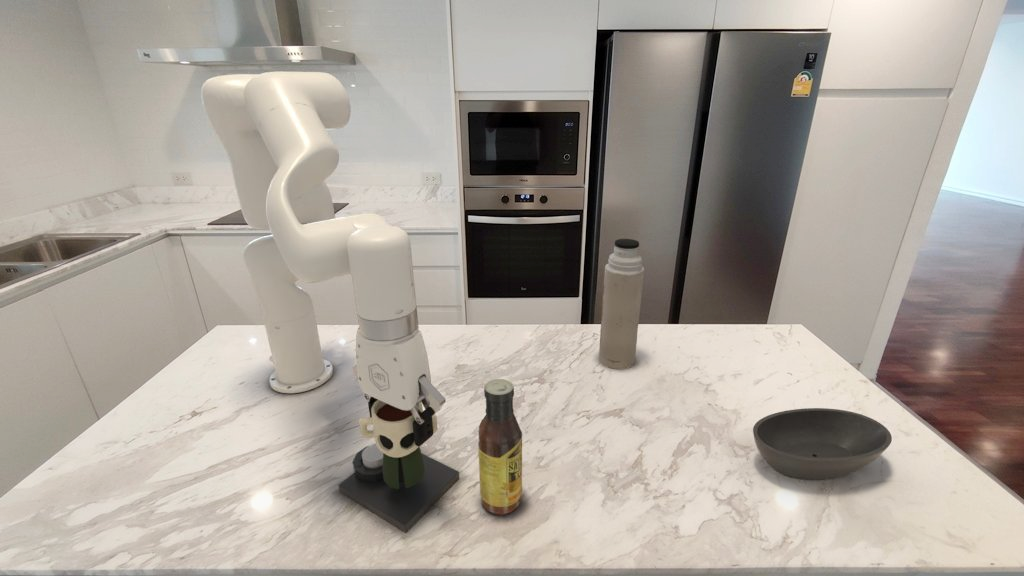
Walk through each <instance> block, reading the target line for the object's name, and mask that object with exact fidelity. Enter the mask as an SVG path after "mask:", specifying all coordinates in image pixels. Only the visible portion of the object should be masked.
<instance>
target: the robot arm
mask: <svg viewBox="0 0 1024 576" xmlns="http://www.w3.org/2000/svg"><path fill="white" fill-rule="evenodd" d="M200 93H201V103H202V108H203V110H204V114H205V116H206V119H207V120H208V122H209V125H210V126H211V128H212V130H213V132H214V133H215V135H216V136H217V138H218V140H219V141H220V143H221V145H222V146H223V148H224V151H225V153H226V154H227V157H228V160H229V165H230V169H231V174H232V177H233V183H234V186H235V187H234V188H235V191H236V195H237V199H238V202H239V207H240V210H241V214H242V216H243V219H244V221H245V222H246V224H247V225H248V226H249V227H250V228H251V229H253V230H257V231H269V230H270V233H271V234H270V235H265V236H261V237H259V238H255V239H253V240H252V241H250V242H248V244H247V245H246V246H245V247H244V249H243V252H242V257H243V262H244V263H243V264H244V266H245V269H246V271H247V274H248V276H249V278H250V281H251V282H252V285H253V288H254V290H255V294H256V296H257V300H258V303H259V307H260V312H261V315H262V320H263V323H264V324H263V325H264V328H265V333H266V336H267V341H268V345H269V349H270V353H271V354H270V356H269V359H268V361H270V362H272V363H273V366H274V370H273V372H272V373H271V374H270V376H269V380H268V382H269V385H270V388H271V389H272V390H274V391H276V392H278V393H282V394H298V393H304V392H308V391H311V390H313V389H317V388H318V387H320V386H323V384H325V383H326V382H328V381H329V379H331V378H332V376H333V373H334V368H333V367H334V366H333V364H332V363H331V361H329V360H328V359H325V358H324V355H323V351H322V346H321V341H320V334H319V329H318V323H317V319H316V313H315V308H314V303H313V299H312V297H311V296H310V294H309V293H308V292H307V291H306V290H305V289H304V288H302V287H300V286H298V285H297V284H296V282H297V281H301V282H304V283H307V284H315V283H322V282H324V281H329V280H333V279H337V278H339V277H343V276H344V277H345V276H348V275H351V282H352V290H353V295H354V297H353V298H354V302H355V309H356V315H357V316H356V317H357V321H358V322H357V323H358V328H357V330H356V337H355V363H356V364H354V365H353V366H352V367H351V369H352V371H353V373H354V375H355V376H356V379H357V381H358V386H359V389H360V390H361V391H362V392H363V397H364V399H365V400H366V401H367V405H368V412H369V413H368V414H369V417H372V413H371V408H372V406H373V404H374V403H375V402H376V401H377V400H380V401H382V402H385V403H387V404H389V405H391V406H394V407H396V408H399V409H401V410H410V411H411V413H412V415H413V416H414V418H415V421H414V422H413V432H414V441H415V445H417V446H419V447H421V446H422V445H423V444H424V443H426V442H427V441H429V439H430V438H432V437H433V436H434V433H433V422H432V416H433V415H434V414H435V415H436V414H437V413H438V412H439V411H441V409H442V408H443V406H444V404H446V402H447V401H446V397H444V395H443V394H442V393H441V392H440V391H439V390H438V389H437V388H436V387H435V386H434V385H433V383H432V376H431V369H430V363H429V358H428V357H429V356H428V352H427V348H426V344H425V340H424V337H423V334H422V331H421V330H420V328H419V318H418V307H417V298H416V297H417V295H416V286H415V275H414V265H413V257H412V255H413V254H412V245H411V244H412V243H411V239H410V236H409V234H408V233H407V231H406V230H405V229H403V228H401V227H400V226H399V227H398V226H394V225H391V224H390V222H388V220H387V219H385V218H384V217H383V216H381V215H380V214H377V213H373V212H372V213H370V212H369V213H368V212H367V213H359V214H354V215H349V216H342V217H336V215H335V207H334V201H333V199H332V194H331V191H330V189H329V187H328V184H327V183H326V181H325V180H327V179H328V178H329V177H330V176H331V175H333V174H334V172H335V171H336V169H337V168H338V165H339V161H340V155H339V154H340V153H339V151H338V148H337V146H336V144H335V143H334V141H333V139H332V137H331V135H330V134H329V133H328V131H329V130H330V131H331V130H340V129H342V128H345V126H347V124H348V123H349V121H350V118H351V102H350V101H351V100H350V98H349V95H348V93H347V91H346V89H345V87H344V85H343V84H342V83H341V81H340V80H339V79H338V78H337V77H335V76H334V75H333V74H331V73H328V72H322V71H267V72H262V73H259V74H258V73H257V74H256V73H238V74H223V75H217V76H214V77H211V78H208V79H206V80H205V81H204V83H203V84H202V87H201V92H200ZM419 402H421V403H422V407H423V409H424V410H423V412H420V410H419V408H418V406H417V404H418V403H419Z"/></svg>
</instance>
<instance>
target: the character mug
mask: <svg viewBox="0 0 1024 576" xmlns="http://www.w3.org/2000/svg"><path fill="white" fill-rule="evenodd" d="M417 406H418V408H419V410H420V412H423V411H424V410H423V409H424V407H423V404H422V402H419V403H418V404H417ZM371 413H372V417H370V416H369V417H363V418H362V417H361V418H360V419H359V420H358V424H359V430H360V435H361V437H362V438H363V439H370V438H374V442H375V443H374V444H376V446H377V447H378V448H379V450H380V451H381V452H382V453H383V478H384V482H385V483H386V484H387V485H388V486H389V487H392V488H395V489H399V482H405V488H409V487H411V486H414V485H416V484H417V483H418V482H419V481H420V480H421V479H422V478H423V475H424V472H425V466H424V462H423V458H422V454H423V453H422V450H421V448H420V447H421V446H417V445H415V441H414V432H413V422H414V421H415V418H414V416H413V415H412V413H411V411H410V410H401V409H399V408H396V407H394V406H391V405H389V404H387V403H385V402H382V401H380V400H377V401H376V402H375V403H374V404H373V406H372V408H371ZM432 422H433V434H434V433H436V432H437V431H438V417H437V415H436V413H435V414H434V415H433V416H432ZM368 425H369V426H370V425H372V428H373V430H371V429H370V430H368ZM421 453H422V454H421Z"/></svg>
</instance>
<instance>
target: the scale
mask: <svg viewBox="0 0 1024 576" xmlns="http://www.w3.org/2000/svg"><path fill="white" fill-rule="evenodd" d="M368 446H369V445H367V446H365V447H363V448H362V449H360V450H359V451H358V452H357V453H356V454H355V456H354V458H353V460H352V467H353V473H352V474H351V475H349V476H348V477H347V478H345V479H344V480H343V481H342V482H340V483H339V484H338V491H339V493H340V494H342V495H343V496H345V497H347V498H349V499H350V500H352V501H353V502H355V503H356V504H358V505H359V506H361V507H363V508H365V509H366V510H368V511H370V512H371V513H373V514H374V515H376V516H378V517H379V518H381V519H383V520H384V521H386V522H387V523H389V524H390V525H392V526H394V527H395V528H397V529H399V530H400V531H402V532H403V533H408V532H409V530H411V529H412V528H413V527H414V525H416V524H417V522H418V521H419V520H421V519H422V517H424V516H425V514H426V513H427V512H428V511H429V510H430V509H431V508H432V507H433V506H434V505H435V504H436V503H437V502H438V501H439V500H440V499H441V498H442V497H443V496H444V495H445V494H446V493H447V492H448V490H450V489H451V488H452V487H453V485H454V484H455V483H457V482H458V480H459V479H460V472H459V471H458V470H456V469H454V468H452V467H451V466H449V465H446V464H445V463H442V462H440V461H438V460H437V459H434V458H432V457H430V456H428V455H426V454H424V453H422V452H421V454H422V458H423V462H424V466H425V472H424V475H423V478H422V479H421V480H420V481H419V482H418V483H417V484H416V485H414V486H411V487H409V488H405V482H399V489H395V488H392V487H389V486H388V485H387V484H386V483H385V482H384V478H383V466H382V467H379V468H376V469H368V468H366V467H365V466H364V465H363V460H362V452H363V451H364V449H365V448H367V447H368Z"/></svg>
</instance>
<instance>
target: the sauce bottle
mask: <svg viewBox="0 0 1024 576" xmlns="http://www.w3.org/2000/svg"><path fill="white" fill-rule="evenodd" d="M483 391H484V393H483V395H484V398H485V415H484V416H483V419H481V421H480V423H479V425H478V472H479V473H478V474H479V475H478V476H479V494H480V499H481V504H482V505H483V507H484V509H485V510H486V511H488V512H489V513H491V514H494V515H499V516H500V515H502V516H503V515H507V514H511V513H512V512H514V511H515V510H516V509H517V508H518V507H519V506H520V503H521V501H522V494H523V433H522V430H521V427H520V424H519V422H518V420H517V418H516V416H515V413H514V412H515V410H514V396H515V387H514V384H513V383H512V382H511V381H509V380H508V379H505V378H496V379H495V378H494V379H492V380H490V381H488V382H486V383H485V384H484V388H483Z"/></svg>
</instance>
